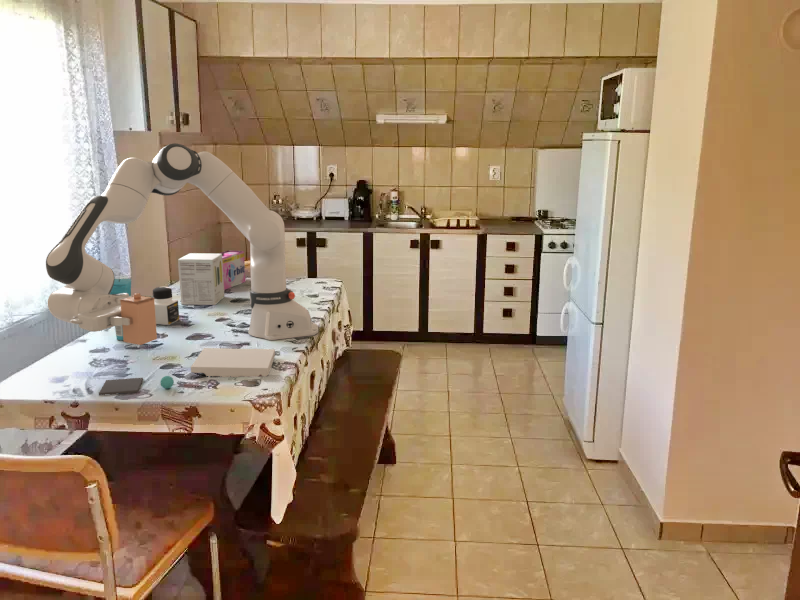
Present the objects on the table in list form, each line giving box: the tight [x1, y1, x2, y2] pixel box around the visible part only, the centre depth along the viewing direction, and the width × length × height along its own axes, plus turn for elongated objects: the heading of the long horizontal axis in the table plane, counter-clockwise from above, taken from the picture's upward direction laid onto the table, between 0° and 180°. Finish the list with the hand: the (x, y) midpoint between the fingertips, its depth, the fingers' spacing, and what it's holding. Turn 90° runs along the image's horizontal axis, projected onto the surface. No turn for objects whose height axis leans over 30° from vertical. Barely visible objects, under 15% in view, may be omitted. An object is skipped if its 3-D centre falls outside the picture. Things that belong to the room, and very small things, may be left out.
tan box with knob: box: [120, 292, 158, 346], centre depth 166 cm, size 6×6×12 cm
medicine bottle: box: [152, 286, 180, 326], centre depth 224 cm, size 7×7×12 cm
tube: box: [110, 278, 132, 341], centre depth 205 cm, size 7×5×19 cm, turn 96°
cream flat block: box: [190, 347, 276, 378], centre depth 182 cm, size 15×3×20 cm
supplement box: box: [177, 252, 226, 306], centre depth 252 cm, size 13×13×18 cm
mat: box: [98, 377, 144, 396], centre depth 167 cm, size 9×9×1 cm
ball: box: [160, 375, 175, 390], centre depth 167 cm, size 3×3×3 cm
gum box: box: [217, 249, 247, 291], centre depth 276 cm, size 24×8×14 cm, turn 163°
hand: (141, 318), depth 166 cm, fingers closed on tan box with knob, 6 cm apart
